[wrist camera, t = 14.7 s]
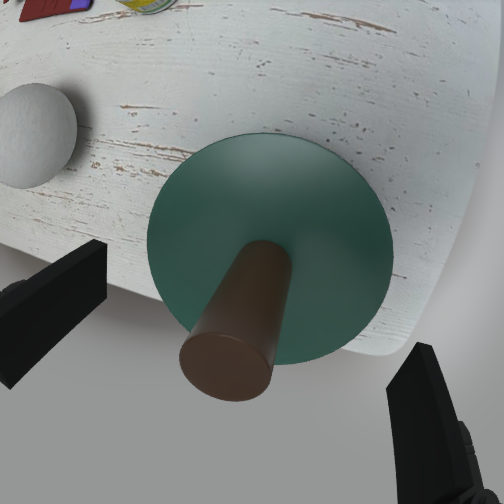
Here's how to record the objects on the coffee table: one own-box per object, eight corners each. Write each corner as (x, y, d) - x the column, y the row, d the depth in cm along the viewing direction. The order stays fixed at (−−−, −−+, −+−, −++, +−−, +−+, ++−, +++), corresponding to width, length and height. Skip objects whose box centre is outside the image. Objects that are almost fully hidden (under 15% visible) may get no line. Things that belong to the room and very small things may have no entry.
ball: (102, 170, 27) (27, 194, 18) (39, 182, 29) (-27, 206, 20) (95, 73, 24) (18, 66, 15) (32, 98, 26) (-37, 105, 17)
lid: (424, 180, 14) (522, 239, 6) (336, 374, 20) (334, 492, 12) (176, 109, 16) (54, 105, 7) (147, 314, 21) (74, 405, 13)
